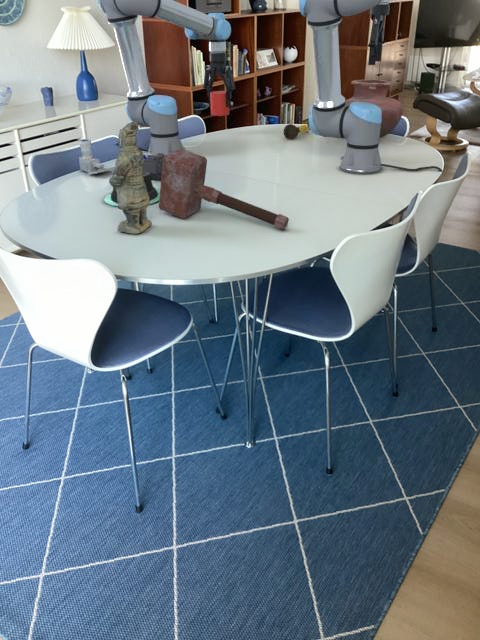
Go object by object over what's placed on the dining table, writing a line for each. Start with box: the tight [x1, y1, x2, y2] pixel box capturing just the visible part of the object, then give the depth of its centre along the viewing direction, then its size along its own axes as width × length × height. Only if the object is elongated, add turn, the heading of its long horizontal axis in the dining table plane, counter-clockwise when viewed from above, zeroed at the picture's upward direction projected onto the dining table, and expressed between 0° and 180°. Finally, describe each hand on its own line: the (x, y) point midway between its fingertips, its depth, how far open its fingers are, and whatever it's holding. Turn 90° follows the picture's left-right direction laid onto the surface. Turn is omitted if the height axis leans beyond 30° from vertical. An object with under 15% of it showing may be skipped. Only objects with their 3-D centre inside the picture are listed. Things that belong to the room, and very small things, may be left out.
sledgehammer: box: [158, 149, 290, 231], centre depth 163 cm, size 17×10×40 cm
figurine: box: [282, 120, 312, 140], centre depth 263 cm, size 13×8×25 cm
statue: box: [108, 121, 153, 235], centre depth 154 cm, size 11×9×30 cm
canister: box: [210, 90, 230, 117], centre depth 259 cm, size 9×9×10 cm
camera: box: [78, 138, 115, 176], centre depth 211 cm, size 9×12×15 cm
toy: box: [142, 151, 165, 181], centre depth 205 cm, size 9×9×15 cm
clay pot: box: [345, 78, 404, 139], centre depth 247 cm, size 30×30×25 cm
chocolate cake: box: [103, 169, 160, 207], centre depth 186 cm, size 15×19×20 cm
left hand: (219, 105), depth 259 cm, fingers closed on canister, 9 cm apart
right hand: (374, 63), depth 229 cm, fingers open, 13 cm apart
